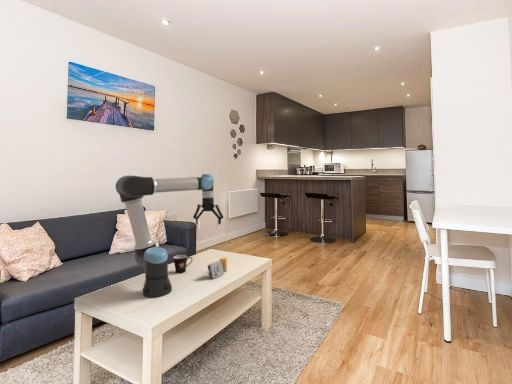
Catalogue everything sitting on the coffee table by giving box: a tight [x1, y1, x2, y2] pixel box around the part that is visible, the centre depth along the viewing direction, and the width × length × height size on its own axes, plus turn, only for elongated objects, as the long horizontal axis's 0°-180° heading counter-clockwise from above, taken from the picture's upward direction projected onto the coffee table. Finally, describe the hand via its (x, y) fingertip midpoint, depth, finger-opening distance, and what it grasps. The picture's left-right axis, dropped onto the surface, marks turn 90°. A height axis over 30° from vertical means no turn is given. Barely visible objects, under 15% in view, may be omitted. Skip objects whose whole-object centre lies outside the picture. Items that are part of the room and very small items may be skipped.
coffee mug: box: [173, 254, 193, 274], centre depth 187 cm, size 12×9×10 cm
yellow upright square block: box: [218, 256, 229, 271], centre depth 187 cm, size 4×4×7 cm
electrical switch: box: [207, 260, 225, 280], centre depth 178 cm, size 9×5×9 cm, turn 141°
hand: (208, 229), depth 190 cm, fingers open, 13 cm apart
